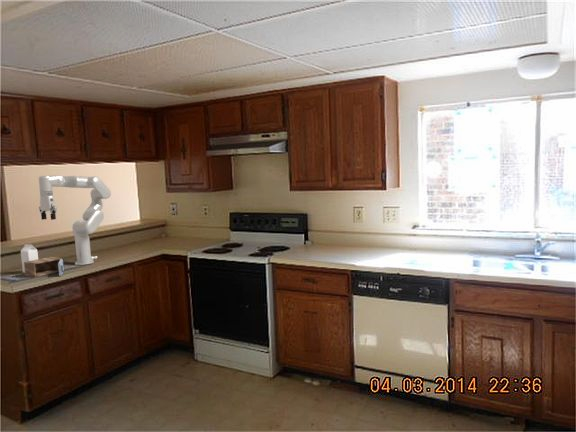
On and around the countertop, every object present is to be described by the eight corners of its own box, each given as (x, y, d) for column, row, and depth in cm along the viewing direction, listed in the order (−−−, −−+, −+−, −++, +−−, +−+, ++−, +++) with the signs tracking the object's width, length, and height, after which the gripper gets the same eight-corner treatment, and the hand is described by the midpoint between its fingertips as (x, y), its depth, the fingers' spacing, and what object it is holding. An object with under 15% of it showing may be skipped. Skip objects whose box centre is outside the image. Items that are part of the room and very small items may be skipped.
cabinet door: (61, 270, 300) (60, 258, 299) (65, 270, 300) (64, 258, 300) (59, 275, 283) (58, 263, 282) (63, 275, 284) (61, 263, 283)
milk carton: (30, 273, 298) (27, 245, 296) (22, 272, 301) (19, 245, 299) (39, 271, 305) (36, 243, 303) (32, 270, 307) (29, 243, 306)
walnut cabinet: (52, 269, 307) (50, 256, 306) (62, 271, 300) (60, 258, 300) (25, 275, 292) (23, 262, 291) (35, 277, 285) (33, 263, 284)
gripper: (59, 193, 298) (62, 218, 300) (43, 194, 306) (45, 218, 308) (49, 194, 292) (51, 220, 293) (33, 194, 300) (35, 219, 301)
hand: (48, 219), depth 301 cm, fingers open, 9 cm apart
